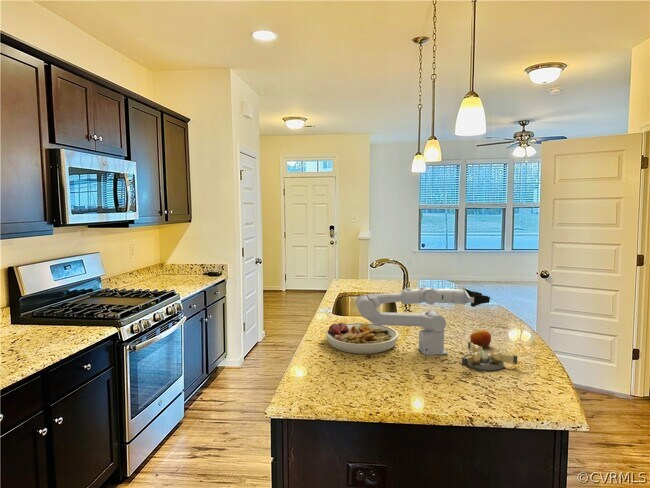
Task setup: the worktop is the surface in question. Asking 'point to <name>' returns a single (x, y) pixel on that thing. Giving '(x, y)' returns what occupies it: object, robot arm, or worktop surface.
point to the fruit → (481, 338)
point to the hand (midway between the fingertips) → (485, 297)
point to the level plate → (486, 363)
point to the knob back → (474, 347)
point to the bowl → (361, 337)
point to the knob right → (502, 358)
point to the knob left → (472, 359)
